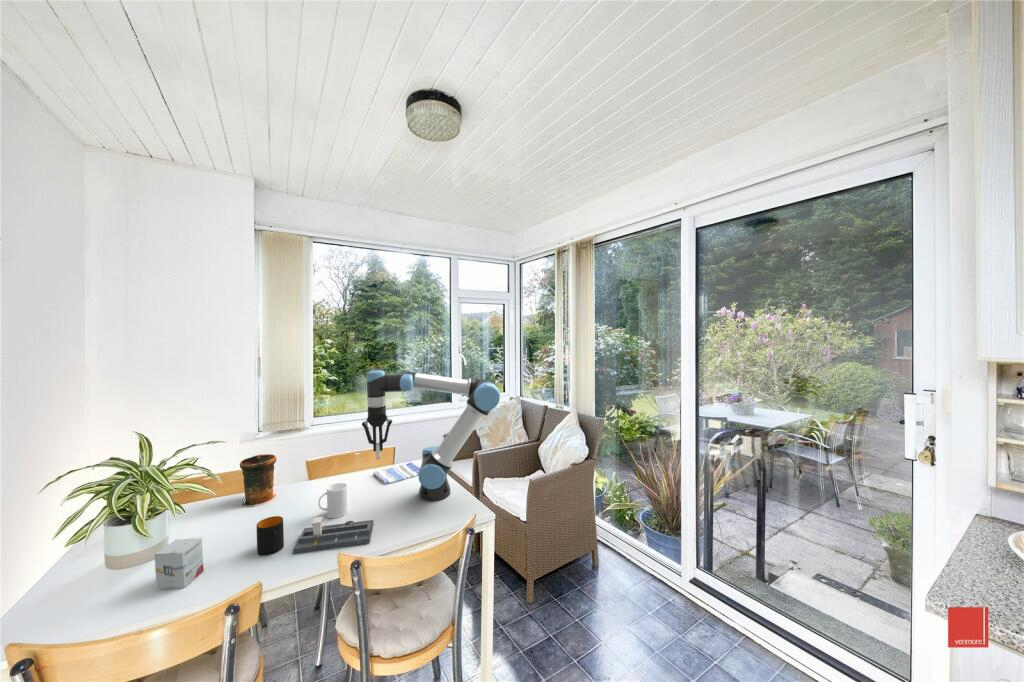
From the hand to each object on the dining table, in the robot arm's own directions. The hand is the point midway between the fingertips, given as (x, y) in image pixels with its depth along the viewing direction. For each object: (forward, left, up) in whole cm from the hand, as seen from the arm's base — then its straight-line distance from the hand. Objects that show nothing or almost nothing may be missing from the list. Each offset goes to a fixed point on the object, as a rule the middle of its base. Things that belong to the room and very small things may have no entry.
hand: (378, 458), depth 163 cm
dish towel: (-7, -40, -25) cm, 47 cm away
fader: (+21, +18, -22) cm, 35 cm away
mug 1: (+35, +21, -24) cm, 48 cm away
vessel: (+56, -25, -24) cm, 66 cm away
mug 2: (+19, -2, -24) cm, 31 cm away
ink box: (+58, +31, -24) cm, 70 cm away
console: (+14, +18, -24) cm, 33 cm away
